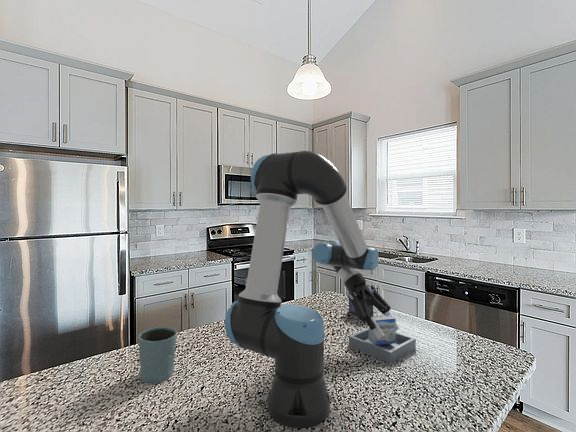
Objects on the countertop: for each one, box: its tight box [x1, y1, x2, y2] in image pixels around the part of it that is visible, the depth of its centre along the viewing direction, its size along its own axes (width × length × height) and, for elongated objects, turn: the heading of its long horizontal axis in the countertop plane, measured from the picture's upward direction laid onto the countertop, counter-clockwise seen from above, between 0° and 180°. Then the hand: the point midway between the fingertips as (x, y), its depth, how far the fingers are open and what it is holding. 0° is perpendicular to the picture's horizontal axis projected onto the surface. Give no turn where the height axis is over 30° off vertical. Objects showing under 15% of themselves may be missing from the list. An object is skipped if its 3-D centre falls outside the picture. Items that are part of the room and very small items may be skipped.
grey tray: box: [348, 327, 417, 364], centre depth 109 cm, size 16×16×4 cm
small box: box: [348, 291, 374, 317], centre depth 143 cm, size 11×6×10 cm, turn 25°
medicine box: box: [368, 314, 397, 346], centre depth 109 cm, size 8×4×9 cm, turn 105°
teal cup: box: [137, 326, 178, 384], centre depth 90 cm, size 10×10×12 cm
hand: (389, 333), depth 107 cm, fingers closed on medicine box, 9 cm apart
